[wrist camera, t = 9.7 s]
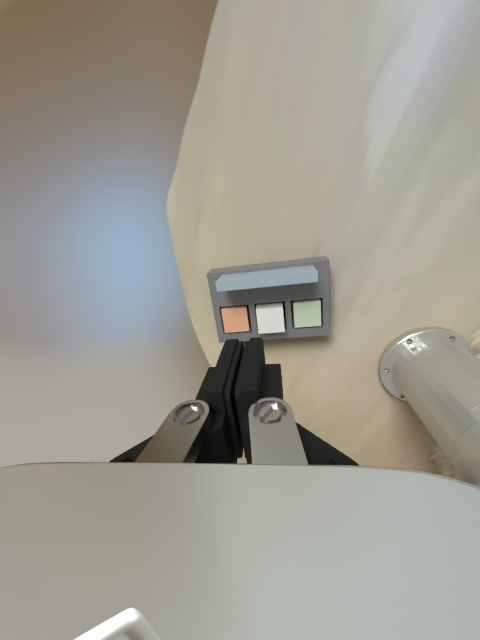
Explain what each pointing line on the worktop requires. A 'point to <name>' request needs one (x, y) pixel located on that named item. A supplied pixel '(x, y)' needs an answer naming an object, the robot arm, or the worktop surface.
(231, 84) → the worktop surface
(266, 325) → the white key
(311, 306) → the sage key
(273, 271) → the keypad
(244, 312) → the terracotta key
